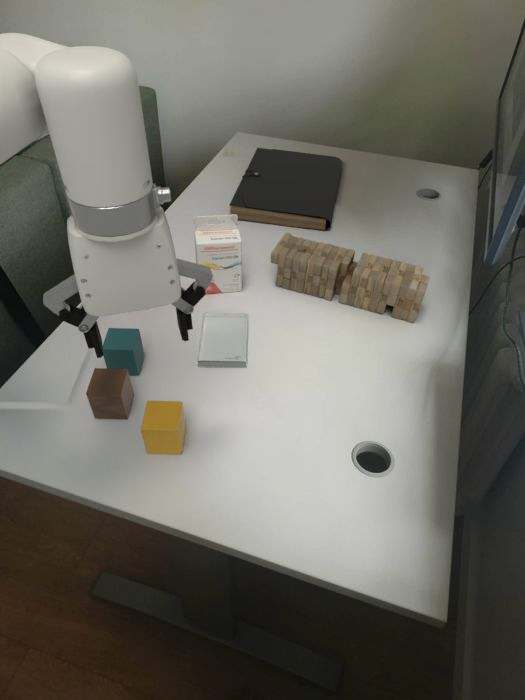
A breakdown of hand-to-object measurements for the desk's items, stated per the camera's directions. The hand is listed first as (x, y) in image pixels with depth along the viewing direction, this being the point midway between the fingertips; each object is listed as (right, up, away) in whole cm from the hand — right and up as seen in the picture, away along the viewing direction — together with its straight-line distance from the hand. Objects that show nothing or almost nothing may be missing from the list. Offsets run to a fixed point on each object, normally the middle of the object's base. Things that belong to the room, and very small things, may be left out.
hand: (142, 341), depth 57 cm
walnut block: (-9, -10, +20) cm, 24 cm away
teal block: (-9, -3, +26) cm, 28 cm away
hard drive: (+7, 0, +30) cm, 31 cm away
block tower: (+30, +10, +41) cm, 52 cm away
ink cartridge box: (+5, +12, +42) cm, 44 cm away
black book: (+21, +40, +70) cm, 83 cm away
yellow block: (0, -14, +15) cm, 21 cm away
